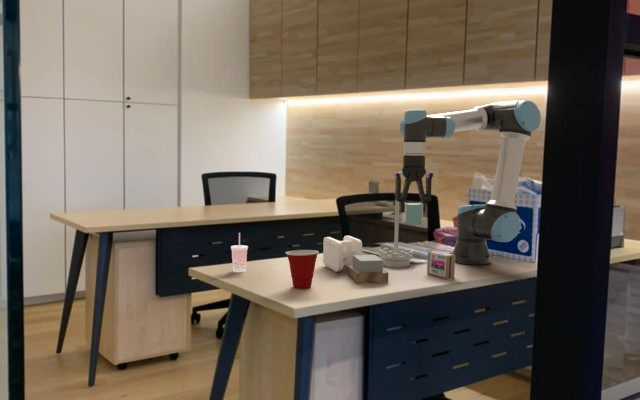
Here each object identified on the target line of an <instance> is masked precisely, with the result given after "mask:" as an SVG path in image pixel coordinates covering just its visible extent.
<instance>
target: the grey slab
mask: <svg viewBox="0 0 640 400" xmlns="http://www.w3.org/2000/svg"><path fill="white" fill-rule="evenodd" d="M353 267H354V268H355V269H356V270H358V271H359V272H360V273H365V272H383V269H384V265H383V260H382V259H381V257H380V256H377V255H376V254H362V255H353Z"/></svg>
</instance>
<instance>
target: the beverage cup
mask: <svg viewBox="0 0 640 400" xmlns="http://www.w3.org/2000/svg"><path fill="white" fill-rule="evenodd" d="M248 249H249V246H248V245H245V244H244V245H243V244H241V232H238V245H237V244H236V245H235V244H234V245H231V246H230V250H231V259H232V260H231V261H232V271H233V273H245V272H246V271H247V258H248V256H247V255H248Z"/></svg>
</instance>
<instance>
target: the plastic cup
mask: <svg viewBox="0 0 640 400" xmlns="http://www.w3.org/2000/svg"><path fill="white" fill-rule="evenodd" d="M319 253H320V252H319V250H316V249H315V250H314V249H313V250H312V249H296V250H289V251H285V255H286V256H287V259H288V262H289V268H290V269H289V270H290V275H291V280H292V287H293V288H294V289H298V290H307V289H310V288H311V287H312V283H313V278H314V274H315V267H316V263H317V258H318V254H319Z"/></svg>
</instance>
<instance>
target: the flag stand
mask: <svg viewBox="0 0 640 400" xmlns="http://www.w3.org/2000/svg"><path fill="white" fill-rule="evenodd" d="M402 191H403V190H401V193H402ZM393 193H394V194H395V188H394V189H393ZM400 199H401V198H400ZM394 201H395V206H394V207H395V208H394V212H395V213H394V240H393V243H394V245H393V249H392V250H390V248H389V247H383V248H382V249H380V248H379V252H378V257H379V258H380V259H382V260H383V266H385V267H393V268H404V267H405V268H406V267H409V266H410V265H411V264H410V263H411V260H412V259H413V256H414V250H411V249H409V248H404V249H403V250H401V248H400V247H399V229H400V221H399V220H400V202H398V201H396V200H394Z"/></svg>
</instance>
